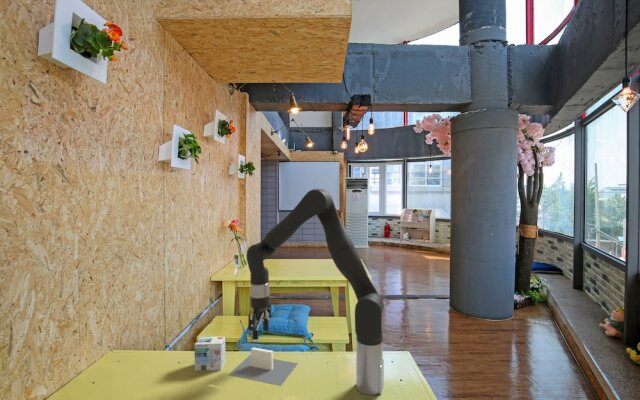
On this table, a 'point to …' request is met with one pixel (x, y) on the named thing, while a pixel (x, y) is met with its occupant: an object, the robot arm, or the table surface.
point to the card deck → (262, 358)
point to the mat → (265, 371)
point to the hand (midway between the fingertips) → (260, 334)
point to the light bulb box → (209, 353)
